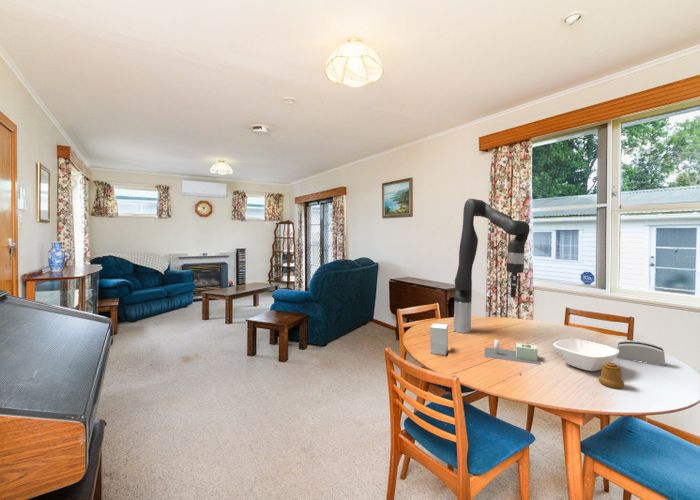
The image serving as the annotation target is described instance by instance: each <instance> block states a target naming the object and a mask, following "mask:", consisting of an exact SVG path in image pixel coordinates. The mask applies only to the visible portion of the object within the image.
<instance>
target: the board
mask: <svg viewBox="0 0 700 500" xmlns="http://www.w3.org/2000/svg"><path fill="white" fill-rule="evenodd" d="M524 344H525V345H524V347H528V348H529V345H528V343H524ZM493 346H494V347H487V346H485V347H484V355H483V356H484V357H483V358H488V359H495V360H503V361H510V362H517V363H518V362H519V363H523V364H524V363H525V364H526V363H527V364H533V365H540V366H541V365H542V363H541V361H540V357H539V354H537V361H534V360H526V359H519V358H516V350H510V349H504V348H500V340H499V339H494V344H493Z"/></svg>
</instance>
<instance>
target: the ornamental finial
mask: <svg viewBox="0 0 700 500" xmlns="http://www.w3.org/2000/svg"><path fill="white" fill-rule="evenodd" d="M622 375H623V374H622V368H620V366H619V365H617V364H616V363H614V362H607V363H606V364H604V365H602V369H601V375H600V376H598V382H599V383H600V384H601V385H603V386H604V387H606V388H610V389H611V388H612V389H616V390H618V389H622V388H623V387H624V386H625V382H624V380H623V379H622Z"/></svg>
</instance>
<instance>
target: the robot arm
mask: <svg viewBox="0 0 700 500" xmlns="http://www.w3.org/2000/svg"><path fill="white" fill-rule="evenodd" d="M475 217H482V218H486V219H488V220H489V221H490V223H491V224H493V225H495V226H496V227H498V228H500V229H502V230H503V231H504V233H506V234H508V235H511V236H515V237H514V239H513V240H509V242H508V247H507V248H508V249H507V257H506V268H505V271H506V272H508V273H511V274H510V275H509V282H510V283H509V285H510V297H511V298H516V296H517V289H518V285H519V279H520V275H518V274H522V273H524V267H525V246H526V243H527V240H528V237H529V235H530V230H531V228H530V224H529V223H528V222H527V221H526V220H515V219H513V218H512V217H511V216H510V215H508V214H506V213H503V212H502V211H499V210H497V209H495V208H493V207H492V206H491V205H489V204H488V203H487V202H485V201H483V200H481V199H476V198H468V199H467V200H466V201H465V203H464V205H463V214H462V230H461V237H460V242H459V251H458V252H459V253H458V268H457V272H456V275H455V278H454V309H453V311H454V314H453V332H456V333H460V334H469V333H470V334H471V333H472V297H473V296H472V295H473V294H472V292H473V291H472V290H473V287H472V286H473V281H472V274H473V266H474V263H475V259H476V255H477V251H478V245H479V239H478V235H477V231H476V229H475V226H474V220H475V219H474V218H475Z"/></svg>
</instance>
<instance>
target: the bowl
mask: <svg viewBox="0 0 700 500" xmlns="http://www.w3.org/2000/svg"><path fill="white" fill-rule="evenodd" d="M552 347H553V349H555V351H556V352H557V353H558V354H559V355H561V356H562V358H563V360H564V361H565V362H566V364H567V365H569V366H572V367H575V368H578V369H581V370H585V371H588V372H595V371H600V370H602V365H604V364H607V363H611V362H612V361H613V360H615V358H616V356H617V355H618V354H619V350H618V349H617V348H616V347H611V346H608V345H606V344H602V343H598V342H594V341H589V340H585V339H581V338H566V339H560V340H556V341H555V342H554V343H553V344H552Z"/></svg>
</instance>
